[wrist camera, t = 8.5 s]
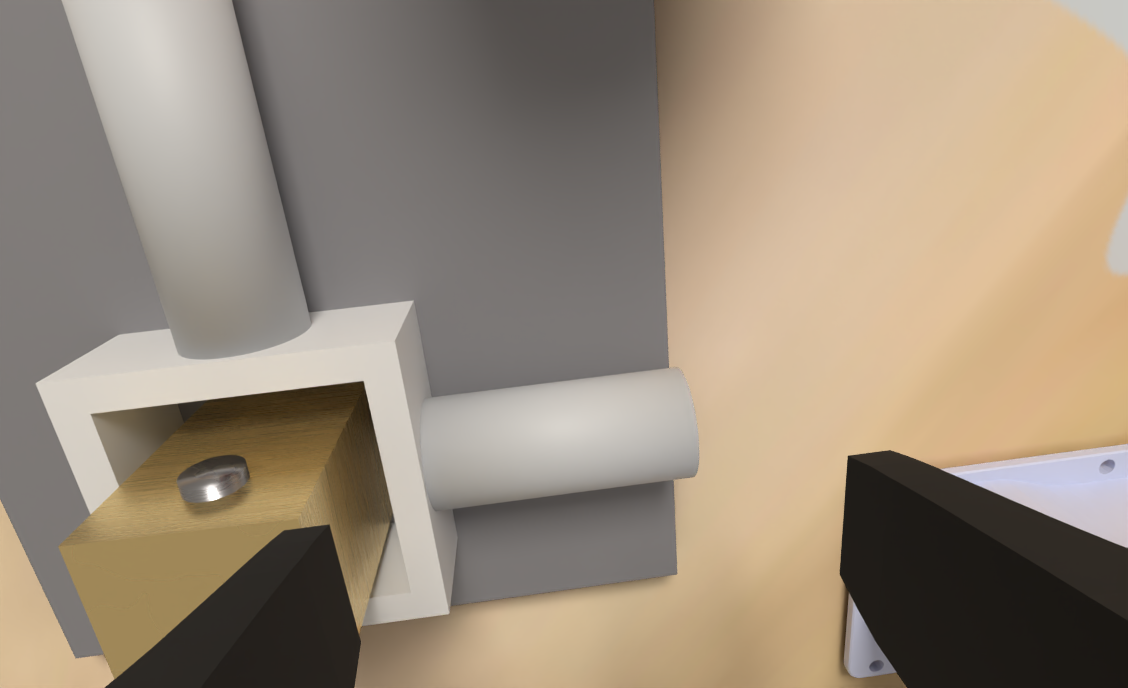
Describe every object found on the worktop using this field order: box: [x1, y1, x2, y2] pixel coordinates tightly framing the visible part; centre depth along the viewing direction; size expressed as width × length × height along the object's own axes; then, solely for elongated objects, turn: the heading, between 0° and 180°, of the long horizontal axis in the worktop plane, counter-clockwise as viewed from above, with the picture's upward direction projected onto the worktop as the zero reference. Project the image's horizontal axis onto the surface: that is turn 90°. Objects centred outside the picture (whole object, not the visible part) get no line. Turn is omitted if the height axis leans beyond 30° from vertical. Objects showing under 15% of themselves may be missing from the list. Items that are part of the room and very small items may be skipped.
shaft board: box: [0, 0, 699, 658], centre depth 15 cm, size 18×18×4 cm
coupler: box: [58, 382, 393, 679], centre depth 14 cm, size 4×5×6 cm
